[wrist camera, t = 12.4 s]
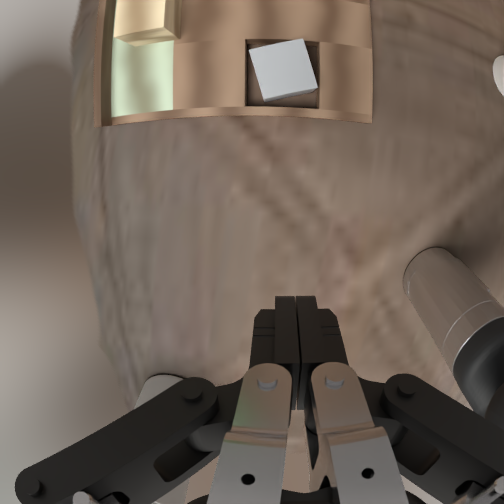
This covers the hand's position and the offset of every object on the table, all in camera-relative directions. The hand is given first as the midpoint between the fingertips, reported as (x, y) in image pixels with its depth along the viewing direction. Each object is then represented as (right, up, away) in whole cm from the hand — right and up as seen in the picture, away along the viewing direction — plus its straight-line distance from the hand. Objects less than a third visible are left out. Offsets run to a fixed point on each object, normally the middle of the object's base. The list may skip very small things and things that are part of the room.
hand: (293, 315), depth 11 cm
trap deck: (-3, +29, +16) cm, 33 cm away
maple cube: (-12, +29, +14) cm, 34 cm away
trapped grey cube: (+2, +23, +19) cm, 30 cm away
